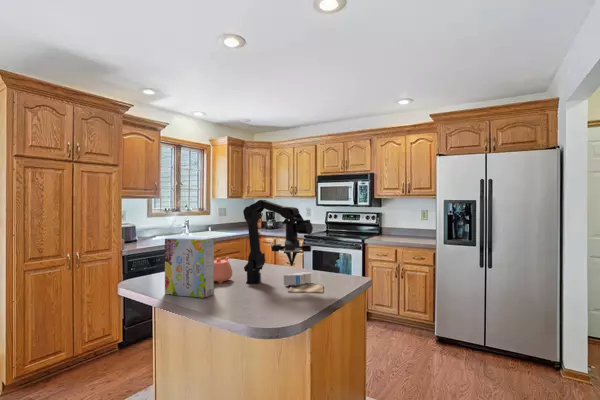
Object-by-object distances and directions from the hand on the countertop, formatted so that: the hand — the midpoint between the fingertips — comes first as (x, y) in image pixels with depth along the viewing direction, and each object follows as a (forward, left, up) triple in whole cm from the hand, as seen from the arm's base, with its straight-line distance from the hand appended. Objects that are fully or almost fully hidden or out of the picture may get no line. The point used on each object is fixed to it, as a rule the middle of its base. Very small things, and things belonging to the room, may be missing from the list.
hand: (291, 265), depth 161 cm
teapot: (-40, +13, -11) cm, 44 cm away
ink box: (-2, +2, -8) cm, 8 cm away
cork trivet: (+7, 0, -11) cm, 13 cm away
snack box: (-45, -13, -11) cm, 49 cm away
